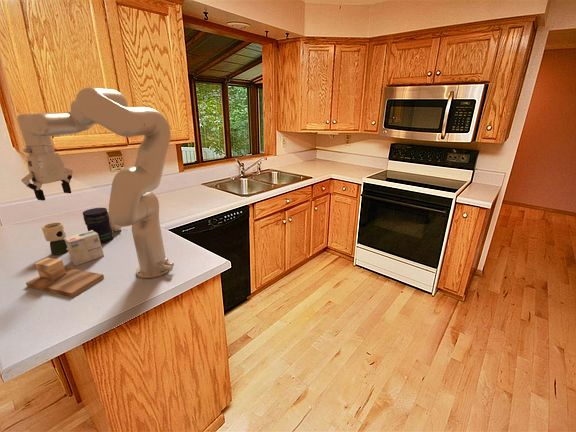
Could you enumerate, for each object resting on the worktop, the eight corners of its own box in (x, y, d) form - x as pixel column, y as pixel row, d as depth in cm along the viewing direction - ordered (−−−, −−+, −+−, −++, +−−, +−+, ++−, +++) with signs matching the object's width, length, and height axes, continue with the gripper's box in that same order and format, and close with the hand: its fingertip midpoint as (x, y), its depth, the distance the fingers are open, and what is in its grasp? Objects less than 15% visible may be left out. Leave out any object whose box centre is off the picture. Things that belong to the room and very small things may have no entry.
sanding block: (66, 274, 107) (61, 259, 105) (54, 280, 103) (49, 266, 101) (52, 271, 109) (48, 257, 107) (40, 277, 105) (34, 263, 103)
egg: (123, 232, 147) (118, 211, 143) (105, 234, 145) (100, 213, 141) (126, 227, 154) (121, 206, 150) (109, 229, 152) (104, 208, 148)
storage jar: (94, 246, 132) (85, 216, 127) (87, 240, 138) (79, 211, 133) (117, 239, 139) (110, 210, 134) (110, 234, 145) (103, 206, 140)
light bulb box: (98, 251, 127) (92, 229, 124) (104, 256, 123) (98, 233, 120) (70, 261, 120) (63, 237, 116) (75, 266, 116) (68, 241, 112)
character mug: (62, 257, 123) (53, 229, 118) (44, 259, 122) (34, 230, 117) (75, 246, 133) (68, 220, 128) (58, 247, 132) (50, 221, 127)
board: (104, 278, 107) (103, 274, 106) (73, 297, 96) (72, 293, 96) (60, 269, 113) (59, 266, 113) (27, 286, 102) (25, 282, 102)
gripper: (21, 154, 94) (37, 204, 100) (72, 147, 109) (84, 191, 115) (5, 153, 96) (22, 202, 102) (57, 147, 112) (70, 189, 117)
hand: (55, 196), depth 109 cm, fingers open, 9 cm apart
